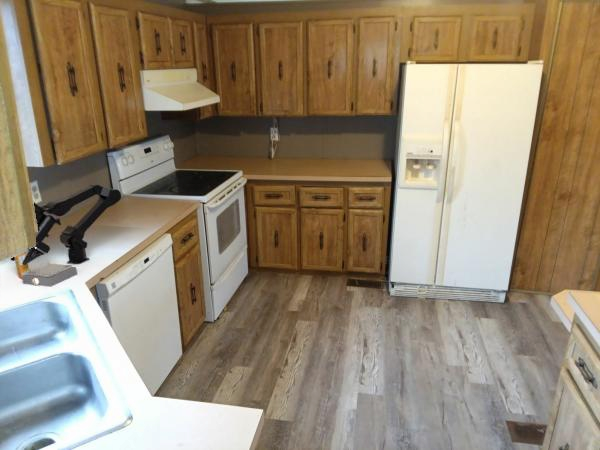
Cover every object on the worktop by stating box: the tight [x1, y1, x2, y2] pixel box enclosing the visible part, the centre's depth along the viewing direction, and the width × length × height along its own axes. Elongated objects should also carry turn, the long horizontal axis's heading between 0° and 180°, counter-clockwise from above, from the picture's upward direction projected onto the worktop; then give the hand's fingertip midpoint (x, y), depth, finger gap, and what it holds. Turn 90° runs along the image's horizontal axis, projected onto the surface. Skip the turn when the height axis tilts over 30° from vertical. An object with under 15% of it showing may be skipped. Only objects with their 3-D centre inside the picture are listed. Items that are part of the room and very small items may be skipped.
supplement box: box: [14, 252, 30, 280], centre depth 174 cm, size 3×3×10 cm
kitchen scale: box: [21, 266, 78, 288], centre depth 172 cm, size 14×13×3 cm
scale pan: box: [26, 263, 73, 277], centre depth 172 cm, size 11×11×1 cm
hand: (17, 262), depth 172 cm, fingers open, 9 cm apart
